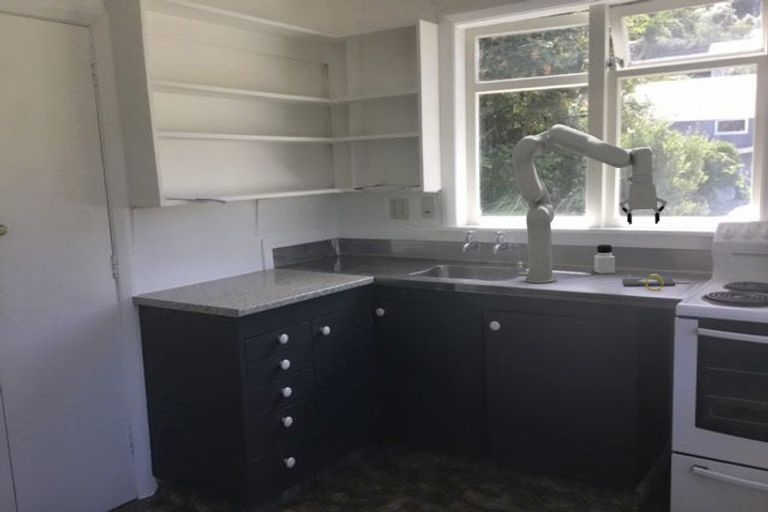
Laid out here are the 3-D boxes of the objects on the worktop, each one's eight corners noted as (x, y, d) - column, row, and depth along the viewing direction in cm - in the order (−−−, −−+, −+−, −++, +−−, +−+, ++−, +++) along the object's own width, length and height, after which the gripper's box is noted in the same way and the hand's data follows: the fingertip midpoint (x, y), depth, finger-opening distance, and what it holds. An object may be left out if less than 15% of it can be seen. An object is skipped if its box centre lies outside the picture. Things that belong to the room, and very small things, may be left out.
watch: (645, 291, 251) (644, 275, 251) (646, 290, 254) (645, 274, 253) (663, 290, 248) (661, 274, 248) (664, 289, 251) (662, 273, 250)
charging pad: (624, 286, 261) (624, 283, 261) (622, 281, 273) (622, 278, 273) (693, 285, 255) (693, 283, 254) (688, 280, 266) (688, 277, 266)
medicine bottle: (615, 272, 294) (615, 245, 292) (599, 273, 294) (598, 246, 292) (610, 270, 301) (610, 243, 299) (594, 271, 301) (593, 244, 300)
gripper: (617, 181, 264) (618, 225, 266) (665, 178, 256) (666, 224, 258) (620, 180, 271) (621, 223, 273) (667, 178, 263) (668, 222, 264)
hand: (643, 223), depth 265 cm, fingers open, 9 cm apart
